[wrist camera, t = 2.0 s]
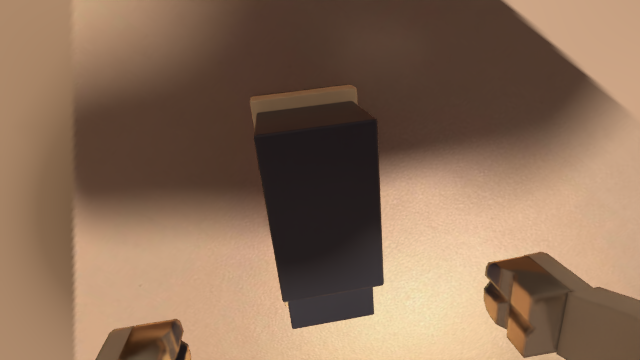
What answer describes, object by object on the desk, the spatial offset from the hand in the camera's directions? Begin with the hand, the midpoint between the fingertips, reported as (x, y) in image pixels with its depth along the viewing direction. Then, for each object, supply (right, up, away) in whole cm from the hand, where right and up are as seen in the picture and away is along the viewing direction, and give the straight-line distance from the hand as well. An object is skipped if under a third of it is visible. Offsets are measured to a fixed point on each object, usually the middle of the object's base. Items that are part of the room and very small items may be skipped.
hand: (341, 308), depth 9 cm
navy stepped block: (-1, +2, +9) cm, 9 cm away
